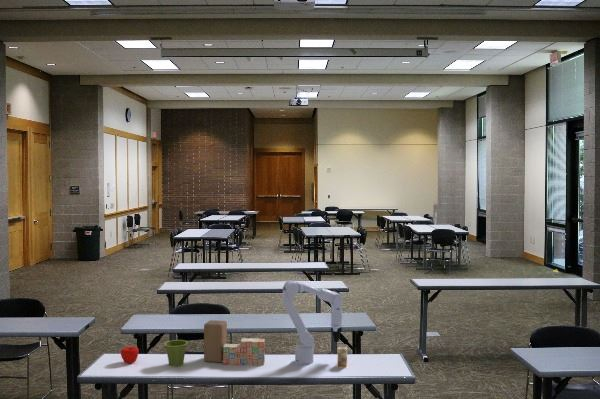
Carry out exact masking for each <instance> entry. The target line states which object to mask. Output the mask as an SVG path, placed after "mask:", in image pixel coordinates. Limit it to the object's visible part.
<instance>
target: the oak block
mask: <svg viewBox="0 0 600 399" xmlns="http://www.w3.org/2000/svg"><path fill="white" fill-rule="evenodd" d="M337 363H338V367H337V368H339V367H347V364H348V357H347V358H338V357H337Z"/></svg>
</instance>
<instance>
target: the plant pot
mask: <svg viewBox="0 0 600 399" xmlns="http://www.w3.org/2000/svg"><path fill="white" fill-rule="evenodd" d="M188 343H189V342H188V340H183V339H172V340H169V341H165V342H164V346H165V349H166V353H167V360H168V365H169V366H171V367H179V366H183V364H184V362H185V356H186V355H185V354H186V350H187V346H188V345H187V344H188Z"/></svg>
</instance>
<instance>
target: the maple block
mask: <svg viewBox="0 0 600 399" xmlns="http://www.w3.org/2000/svg"><path fill="white" fill-rule="evenodd" d="M338 358H347V359H348V346H338V347H337V359H338Z"/></svg>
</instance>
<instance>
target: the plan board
mask: <svg viewBox="0 0 600 399" xmlns="http://www.w3.org/2000/svg"><path fill="white" fill-rule="evenodd" d="M349 367H350V364H349V363H347V367H338V362H336V365H335V368H342V369H343V368H345V369H349Z"/></svg>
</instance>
